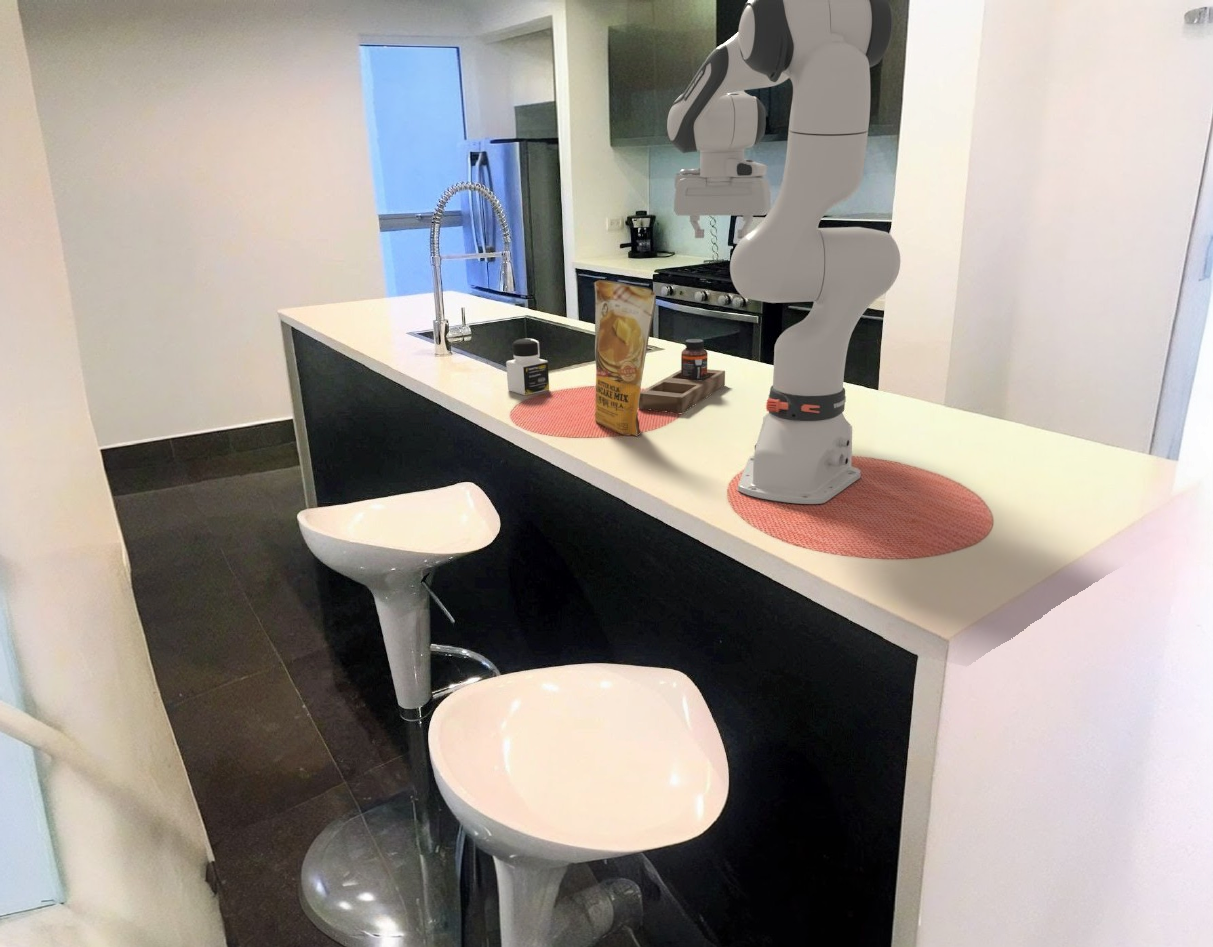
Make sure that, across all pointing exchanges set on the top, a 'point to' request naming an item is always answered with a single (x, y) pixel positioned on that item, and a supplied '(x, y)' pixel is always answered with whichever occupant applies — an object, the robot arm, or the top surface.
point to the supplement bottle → (694, 361)
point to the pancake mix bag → (620, 352)
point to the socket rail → (680, 392)
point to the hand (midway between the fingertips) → (720, 238)
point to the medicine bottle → (527, 368)
